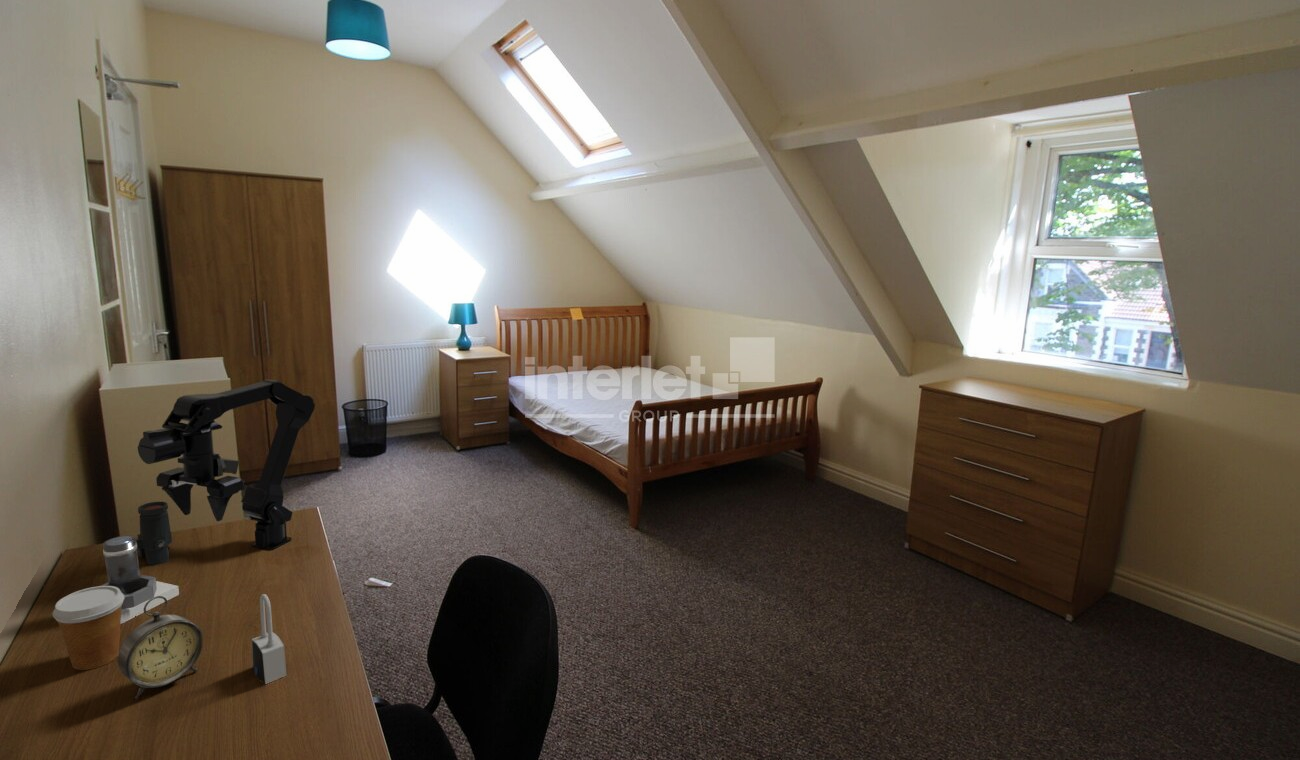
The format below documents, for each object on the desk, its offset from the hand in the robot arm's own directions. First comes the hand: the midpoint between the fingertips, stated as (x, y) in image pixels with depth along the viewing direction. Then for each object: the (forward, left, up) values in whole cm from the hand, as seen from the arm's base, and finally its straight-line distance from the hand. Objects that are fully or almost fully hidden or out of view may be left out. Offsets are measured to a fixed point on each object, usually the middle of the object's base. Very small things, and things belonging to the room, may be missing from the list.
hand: (203, 517), depth 142 cm
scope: (0, -15, -13) cm, 20 cm away
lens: (+17, -1, -11) cm, 20 cm away
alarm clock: (+32, +28, -13) cm, 44 cm away
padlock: (+24, +42, -13) cm, 50 cm away
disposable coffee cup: (+31, +11, -13) cm, 35 cm away
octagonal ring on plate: (+17, -1, -13) cm, 21 cm away
